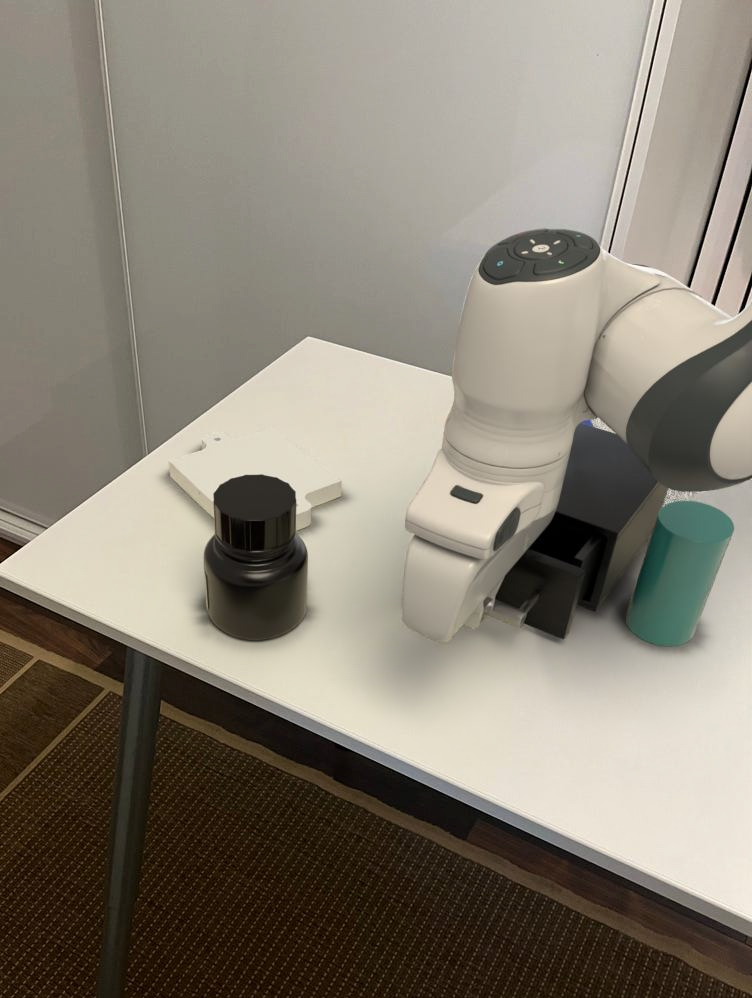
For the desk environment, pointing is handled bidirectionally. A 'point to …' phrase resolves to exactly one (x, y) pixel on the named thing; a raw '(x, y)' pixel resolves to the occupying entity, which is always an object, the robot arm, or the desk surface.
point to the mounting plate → (255, 469)
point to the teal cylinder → (678, 572)
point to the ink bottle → (255, 559)
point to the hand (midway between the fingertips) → (474, 617)
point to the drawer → (550, 579)
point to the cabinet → (609, 502)
